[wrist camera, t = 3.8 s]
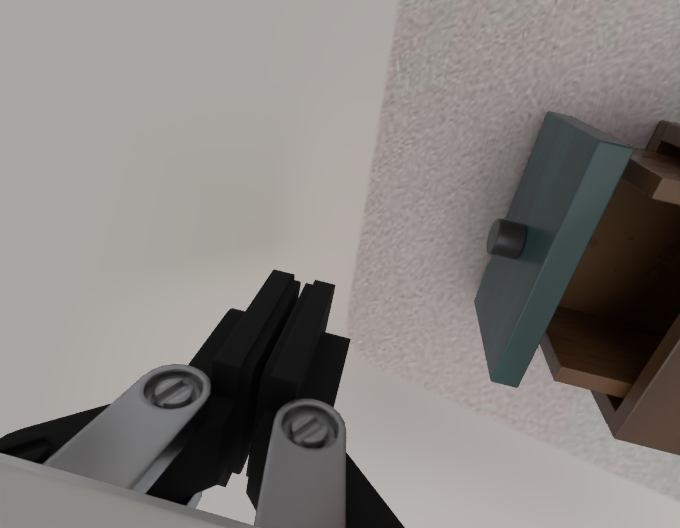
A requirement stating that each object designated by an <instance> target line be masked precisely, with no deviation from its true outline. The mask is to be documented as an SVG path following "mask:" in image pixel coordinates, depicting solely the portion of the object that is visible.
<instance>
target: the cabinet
mask: <svg viewBox="0 0 680 528" xmlns="http://www.w3.org/2000/svg"><path fill="white" fill-rule="evenodd" d="M646 151H650V152H655V153H659V154H664V155H668V156H673V157H677V158H680V124H678V123H674V122H669V121H664V120H661V121H660V122H659V124H658V126H657V128H656V130H655V132H654V134H653V136H652V138H651V140H650V142H649V144H648V146H647V148H646ZM591 392H592V395H593V397H594V399H595V401H596V403H597V405H598V407H599V409H600V411H601V413H602V415H603V417H604V419H605V421H606V423H607V424H608V427H609V429H610V431H611V433H612V435H613V437H614V438H615V439H618V440H622V441H626V442H630V443H634V444H638V445H642V446H645V447H649V448H653V449H657V450H661V451H665V452H669V453H673V454H677V455H680V313H679V315H678V317H677V318H676V320H675V321H674V323H673V324H672V326H671V327H670V329H669V330H668V332H667V334H666V335H665V337H664V338H663V340H662V341H661V343H660V344H659V346H658V348H657V349H656V351H655V352H654V354H653V355H652V357H651V358H650V360H649V361H648V363H647V365H646V366H645V368H644V369H643V371H642V372H641V374H640V375H639V377H638V378H637V380H636V382H635V383H634V385H633V386H632V388H631V389H630V391H629V392H628V394H627V395H626V397H625V398H621V397H617V396H613V395H609V394H605V393H601V392H597V391H593V390H591Z"/></svg>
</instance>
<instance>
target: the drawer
mask: <svg viewBox="0 0 680 528" xmlns="http://www.w3.org/2000/svg"><path fill="white" fill-rule="evenodd" d="M487 252H488V253H489V254H492V256H491V258H490V261H489V264H488V266H487V269H486V271H485V274H484V277H483V279H482V282H481V284H480V287H479V289H478V292H477V295H476V297H475V300H474V302H475V307H476V312H477V317H478V322H479V326H480V331H481V336H482V341H483V346H484V351H485V355H486V360H487V365H488V370H489V375H490V380H491V381H492V382H496V383H500V384H504V385H508V386H512V387H516V388H517V387H518V386H519V384H520V382H521V380H522V378H523V376H524V374H525V372H526V370H527V368H528V366H529V364H530V362H531V360H532V357H533V355H534V353H535V351H536V349H537V347H538V345H539V343H540V346H541V348H542V351H543V353H544V356H545V359H546V361H547V364H548V366H549V369H550V371H551V374H552V376H553V379H554V381H557V382H561V383H565V384H569V385H573V386H577V387H581V388H585V389H589V390H593V391H597V392H601V393H605V394H609V395H613V396H617V397H621V398H625V397H626V395H627V394H628V392H629V391H630V389H631V388H632V386H633V385H634V383H635V382H636V380H637V378H638V377H639V375H640V374H641V372H642V371H643V369H644V368H645V366H646V365H647V363H648V361H649V360H650V358H651V357H652V355H653V354H654V352H655V351H656V349H657V348H658V346H659V344H660V343H661V341H662V340H663V338H664V337H665V335H666V334H667V332H668V330H669V329H670V327H671V326H672V324H673V323H674V321H675V320H676V318H677V317H678V315H679V313H680V158H677V157H673V156H668V155H664V154H659V153H655V152H650V151H646V150H641V149H637V148H633V147H631V146H630V145H628V144H626V143H624V142H622V141H620V140H618V139H616V138H614V137H612V136H610V135H608V134H606V133H604V132H602V131H600V130H598V129H596V128H594V127H592V126H590V125H588V124H586V123H584V122H582V121H580V120H578V119H577V118H575V117H573V116H568V115H564V114H559V113H555V112H550V111H548V112H547V114H546V117H545V119H544V122H543V124H542V127H541V129H540V132H539V135H538V137H537V140H536V142H535V145H534V148H533V150H532V153H531V155H530V158H529V160H528V163H527V166H526V168H525V171H524V173H523V176H522V178H521V181H520V184H519V186H518V189H517V191H516V194H515V197H514V199H513V202H512V204H511V207H510V209H509V212H508V215H507V217H506V220H504V219H500V218H498V219H496V220H495V222H494V223H493V225H492V227H491V229H490V232H489V236H488V240H487Z"/></svg>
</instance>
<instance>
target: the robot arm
mask: <svg viewBox="0 0 680 528" xmlns="http://www.w3.org/2000/svg"><path fill="white" fill-rule="evenodd" d="M334 289H335V285H333V284H329V283H325V282H321V281H317V280H315V281H314V283H313V285H312V284H308V283H306V284H305V286H304V288H303V290H302V293H301V294H300V297H299V298H298V295H299V290H300V282H299V281H295V280H294V274H290V273H286V272H282V271H277V270H273V271H272V273H271V274H270V276H269V277H268V279H267V280H266V282H265V283H264V285H263V286H262V288H261V289H260V291H259V292H258V294H257V295H256V297H255V298H254V300H253V301H252V303H251V304H250V306H249V307H248V308H247V310H246V311H241V310H237V309H233V308H232V309H230V310H229V311H228V312H227V313H226V315H225V316H224V317H223V319H222V320H221V321H220V323H219V324H218V325H217V327H216V328H215V329H214V331H213V332H212V333H211V335H210V336H209V338H208V339H207V340H206V342H205V343H204V344H203V346H202V347H201V348H200V350H199V351H198V353H197V354H196V355H195V357H194V358H193V359H192V361H191V362H190V363H189V365H182V364H181V365H180V364H172V365H165V366H161V367H158V368H156V369H153V370H151V371H150V372H148V373H147V374H145V375H144V376H142V377H141V378H140V379H139V380H138V381H137V382H136V383H134V384H133V385H132V386H131V387H130V388H129V389H128V390H127V391H125V392H124V393H123V394H122V395H121V396H120V397H119V398H117V399H116V400H115V401H114V402H113V403H112V404H108V405H105V406H101V407H98V408H95V409H90V410H87V411H83V412H80V413H76V414H73V415H69V416H66V417H62V418H58V419H55V420H52V421H48V422H44V423H41V424H37V425H34V426H30V427H27V428H23V429H20V430H17V431H15V432H12V433H9V434H7V435H5V436H4V437H2V438H0V528H404V527H403V525H402V524H401V522H400V521H399V520H398V519H397V517H396V516H395V515H394V513H393V512H392V511H391V509H390V508H389V507H388V506H387V504H386V503H385V502H384V501H383V499H382V498H381V497H380V495H379V494H378V493H377V491H376V490H375V489H374V487H373V486H372V485H371V484H370V482H369V481H368V480H367V478H366V477H365V476H364V475H363V473H362V472H361V471H360V469H359V468H358V467H357V466H356V464H355V463H354V462H353V460H352V459H351V458H350V457H349V455H348V454H347V453H346V428H345V422H344V420H343V419H342V417H341V416H340V414H339V413H338V412H337V411H336V410H335V409H334V408H333V407H334V403H335V399H336V395H337V391H338V387H339V383H340V379H341V375H342V371H343V367H344V363H345V359H346V355H347V351H348V347H349V343H350V339H349V338H345V337H341V336H337V335H333V334H329V333H326V332H325V331H326V326H327V322H328V317H329V313H330V308H331V303H332V299H333V294H334ZM248 455H249V459H248V466H247V473H246V476H248V484H247V491H246V493H247V495H248V497H249V498H250V500H251V502H252V504H253V506H254V508H255V510H256V516H255V522H254V526H253V525H250V524H246V523H242V522H239V521H236V520H232V519H229V518H226V517H222V516H219V515H215V514H212V513H208V512H205V511H201V510H198V509H195V508H196V506H197V505H198V503H199V501H200V499H201V497H202V491H203V490H206V489H208V488H210V487H213V486H215V485H220V486H223V487H226V485H227V483H228V481H229V478H230V476H231V474H232V472H233V473H236V474H240V473H241V471H242V469H243V467H244V464H245V462H246V460H247V457H248Z"/></svg>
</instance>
